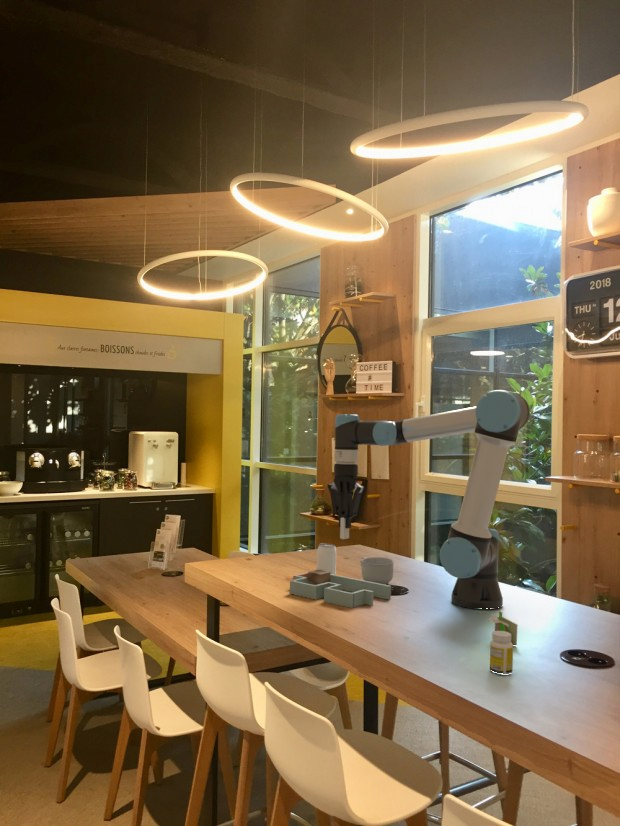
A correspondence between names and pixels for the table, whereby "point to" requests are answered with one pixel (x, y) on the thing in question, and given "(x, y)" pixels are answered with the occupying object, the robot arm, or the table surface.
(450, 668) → the table surface
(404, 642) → the table surface
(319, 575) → the block
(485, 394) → the robot arm
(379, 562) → the teacup
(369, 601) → the box
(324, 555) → the can
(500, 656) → the supplement bottle
